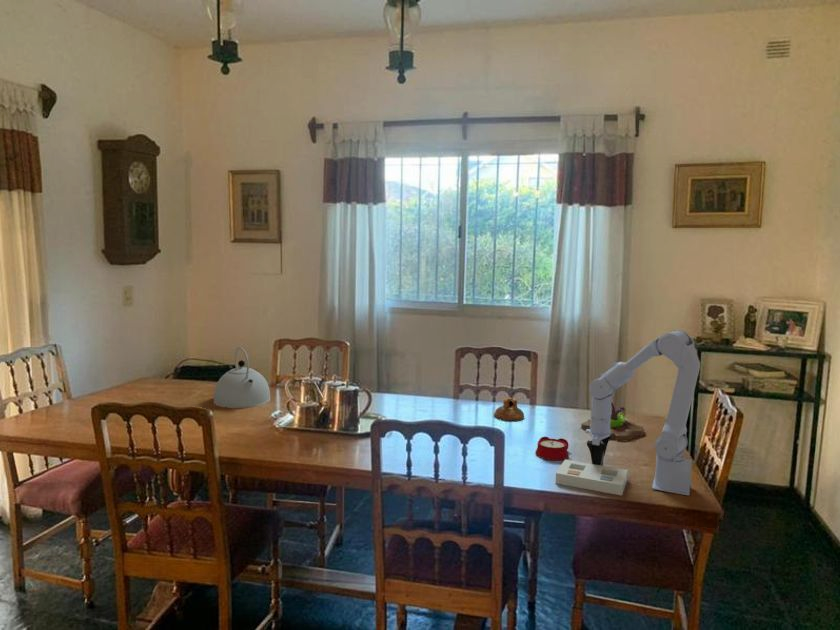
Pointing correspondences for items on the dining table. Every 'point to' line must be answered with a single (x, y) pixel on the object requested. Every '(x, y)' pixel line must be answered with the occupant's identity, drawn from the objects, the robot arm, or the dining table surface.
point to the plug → (602, 455)
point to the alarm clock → (552, 449)
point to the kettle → (241, 387)
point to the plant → (620, 426)
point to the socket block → (592, 477)
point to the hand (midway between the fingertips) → (598, 461)
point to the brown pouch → (509, 411)
